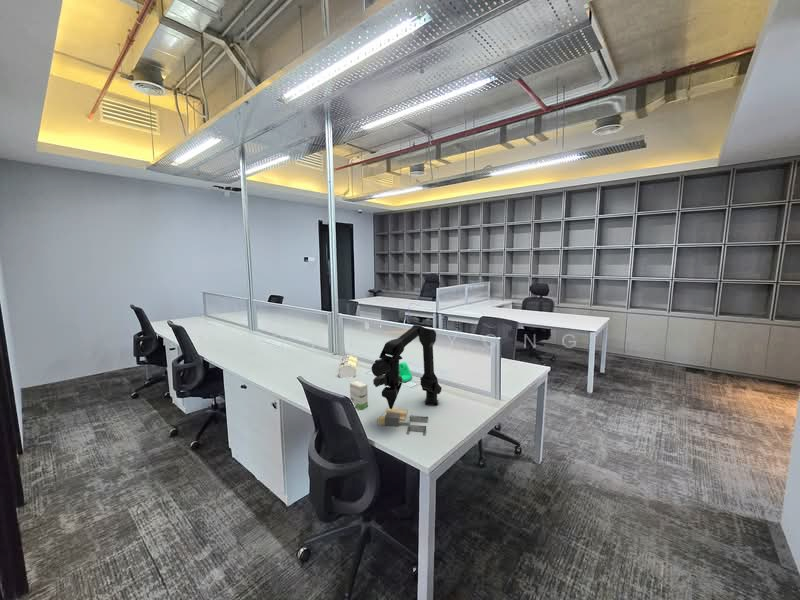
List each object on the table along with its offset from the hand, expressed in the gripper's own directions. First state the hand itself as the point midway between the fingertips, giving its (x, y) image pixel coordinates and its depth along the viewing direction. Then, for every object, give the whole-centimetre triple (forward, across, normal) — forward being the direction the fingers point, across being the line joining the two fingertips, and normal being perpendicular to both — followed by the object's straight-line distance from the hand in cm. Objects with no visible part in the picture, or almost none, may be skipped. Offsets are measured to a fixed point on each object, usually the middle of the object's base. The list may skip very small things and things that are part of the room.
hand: (392, 404), depth 146 cm
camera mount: (+10, -56, -5) cm, 57 cm away
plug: (+9, 0, 0) cm, 9 cm away
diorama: (+10, -65, -42) cm, 78 cm away
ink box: (+9, -15, -20) cm, 27 cm away
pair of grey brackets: (+9, 0, +11) cm, 15 cm away
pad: (+9, -9, 0) cm, 13 cm away
